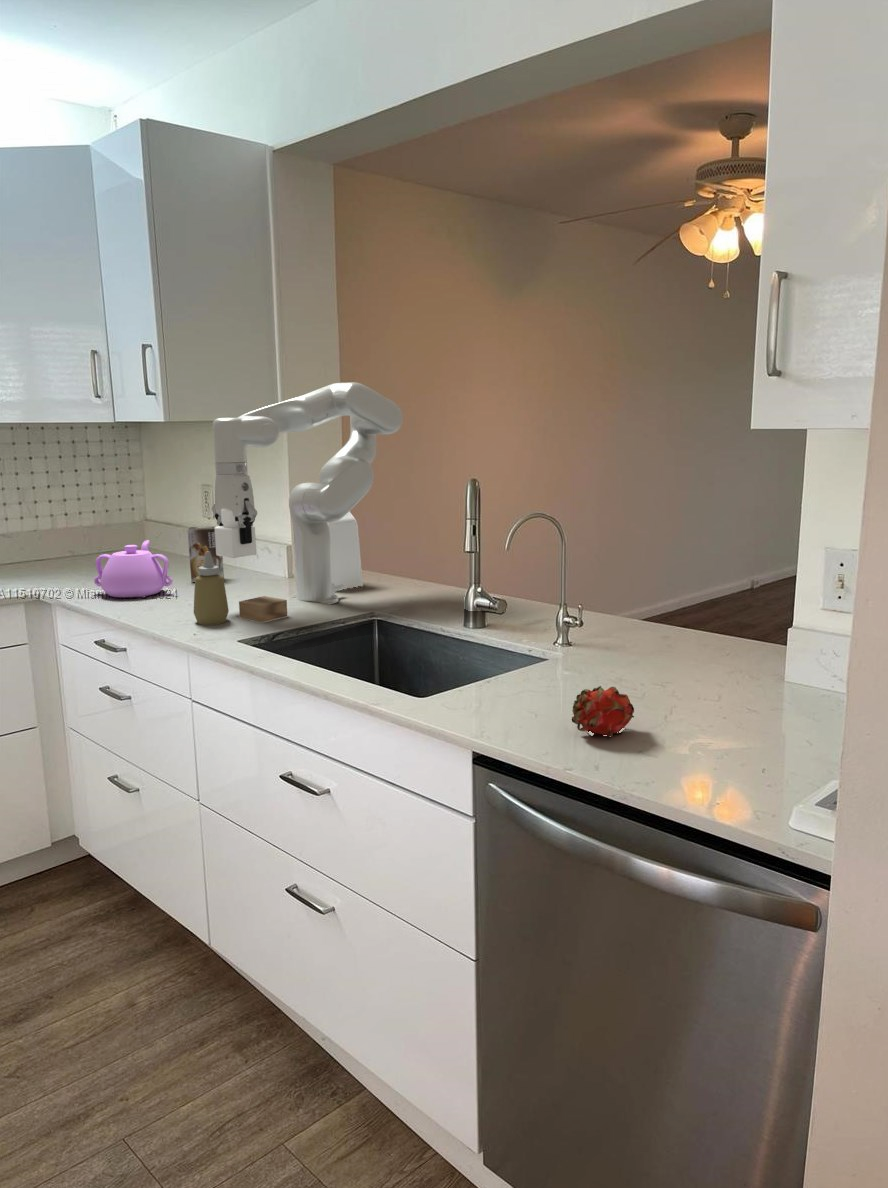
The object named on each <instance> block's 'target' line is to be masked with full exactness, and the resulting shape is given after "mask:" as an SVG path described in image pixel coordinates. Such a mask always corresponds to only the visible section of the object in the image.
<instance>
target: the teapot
mask: <svg viewBox="0 0 888 1188" xmlns="http://www.w3.org/2000/svg"><path fill="white" fill-rule="evenodd" d="M149 545H150V540H149V539H146V540H144V541H143V542H142V544H141V547H140V550H139V549H138V545H136V544H128V545H124V550H122V551H116V552H113V553H112V554H108V553H104V554H100V555H99V556H98V557H97V558H96V559H95V564H94V565H95V569H96V571H97V574H98V575H96V577H94V580H93V581H94V584H95V585H96V586H98V587H101V589H102V590H103V591H104V592H105V594H107V595H108V596H110V597H114V598H117V597H118V598H145V597H144V596H146V597H148V596H152V595H155V594H158V593H160V592H161V590H162V589H164V587H170V586H171V585H173V582H174V579H173V578H172V577H171V576H169V575H168V572H169V568H170V567H169V566H170V563H169V559H168V558H167V556H165V555H164V554H160V553H156V554H153V553H152V552H151V551H149V549H150V547H149ZM102 559H107V562H106V564H105V566H104V567H103V568H102V565H101V563H102V561H101V560H102ZM157 559H161V560H162V561H163V568H162V566H161V564H160V562H159V561H158V560H157ZM99 579H100V580H99ZM167 580H168V581H167Z"/></svg>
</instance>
